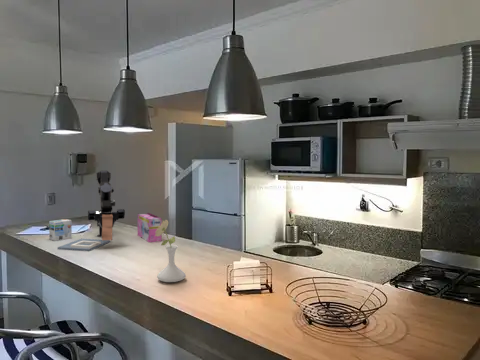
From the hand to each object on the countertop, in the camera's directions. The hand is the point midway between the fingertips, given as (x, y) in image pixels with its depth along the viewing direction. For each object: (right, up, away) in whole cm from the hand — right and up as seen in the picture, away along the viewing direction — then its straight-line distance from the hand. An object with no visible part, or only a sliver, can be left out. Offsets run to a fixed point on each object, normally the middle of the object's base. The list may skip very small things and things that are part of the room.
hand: (107, 227), depth 211 cm
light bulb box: (-35, -10, +23) cm, 43 cm away
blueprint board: (-15, -11, +7) cm, 19 cm away
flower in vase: (+42, -16, -51) cm, 68 cm away
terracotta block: (-1, -7, +2) cm, 7 cm away
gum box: (+16, -10, +28) cm, 34 cm away
